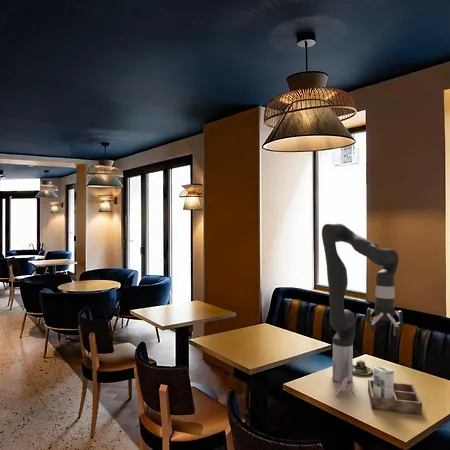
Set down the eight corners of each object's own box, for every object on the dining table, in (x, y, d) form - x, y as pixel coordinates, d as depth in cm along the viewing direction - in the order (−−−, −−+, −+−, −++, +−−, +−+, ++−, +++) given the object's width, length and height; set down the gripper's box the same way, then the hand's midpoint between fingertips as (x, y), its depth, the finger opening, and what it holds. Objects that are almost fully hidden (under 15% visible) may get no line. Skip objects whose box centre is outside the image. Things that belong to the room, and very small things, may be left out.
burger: (343, 372, 198) (343, 358, 198) (354, 366, 207) (354, 352, 207) (366, 379, 190) (366, 364, 190) (377, 372, 198) (377, 358, 198)
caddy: (371, 409, 159) (371, 397, 159) (368, 390, 177) (368, 379, 177) (421, 415, 154) (421, 403, 154) (412, 395, 172) (412, 384, 172)
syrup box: (372, 401, 164) (372, 367, 164) (383, 399, 166) (384, 365, 166) (382, 407, 159) (382, 371, 159) (394, 405, 161) (394, 370, 161)
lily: (348, 389, 180) (337, 371, 181) (369, 387, 172) (357, 368, 172) (335, 406, 172) (324, 386, 173) (356, 405, 164) (345, 384, 164)
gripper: (367, 296, 164) (366, 335, 164) (404, 299, 160) (403, 338, 161) (366, 293, 171) (365, 330, 172) (401, 295, 167) (401, 333, 168)
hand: (384, 334), depth 166 cm, fingers open, 8 cm apart
